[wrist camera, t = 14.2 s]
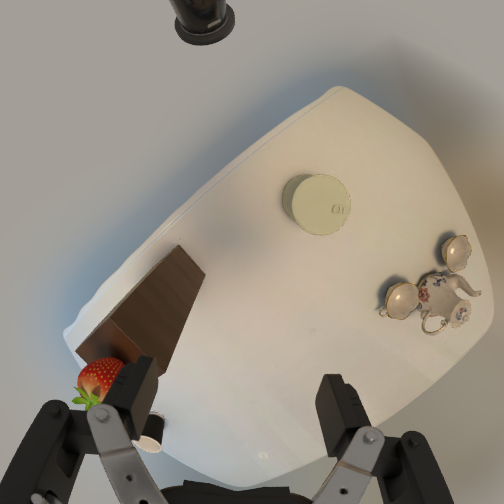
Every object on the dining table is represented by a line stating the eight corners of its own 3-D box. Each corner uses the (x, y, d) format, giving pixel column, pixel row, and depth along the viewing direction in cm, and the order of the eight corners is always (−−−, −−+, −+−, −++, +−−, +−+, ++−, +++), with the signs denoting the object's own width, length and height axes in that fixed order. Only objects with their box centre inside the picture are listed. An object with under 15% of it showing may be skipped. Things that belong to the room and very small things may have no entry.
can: (324, 227, 52) (344, 241, 41) (278, 218, 52) (286, 230, 40) (334, 180, 50) (357, 182, 38) (287, 170, 50) (298, 167, 38)
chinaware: (446, 217, 53) (491, 224, 37) (471, 268, 55) (511, 286, 39) (364, 295, 58) (393, 327, 42) (396, 341, 60) (425, 377, 43)
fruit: (142, 385, 26) (118, 437, 19) (101, 376, 26) (73, 422, 18) (134, 346, 25) (103, 399, 17) (91, 338, 25) (54, 383, 17)
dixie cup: (173, 426, 67) (165, 454, 56) (148, 424, 67) (139, 451, 57) (164, 409, 65) (155, 437, 54) (139, 407, 65) (128, 434, 54)
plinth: (178, 244, 53) (109, 317, 24) (205, 274, 55) (165, 372, 26) (151, 268, 54) (74, 351, 25) (177, 297, 56) (124, 398, 27)
